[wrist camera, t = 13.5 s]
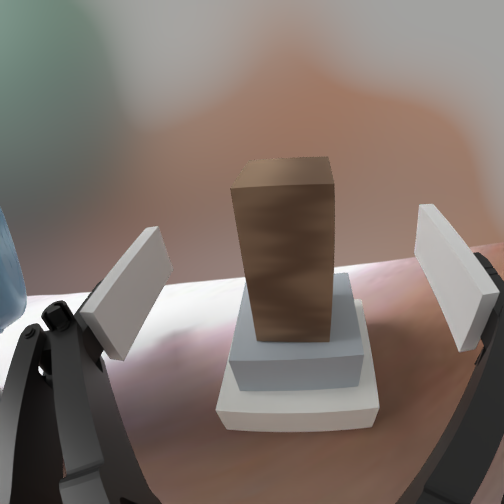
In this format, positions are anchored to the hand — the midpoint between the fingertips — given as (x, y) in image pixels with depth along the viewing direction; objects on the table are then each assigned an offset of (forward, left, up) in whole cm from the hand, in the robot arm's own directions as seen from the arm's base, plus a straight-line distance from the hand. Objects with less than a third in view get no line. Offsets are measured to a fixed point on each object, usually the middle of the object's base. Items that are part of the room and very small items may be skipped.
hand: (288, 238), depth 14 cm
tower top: (0, +4, -13) cm, 13 cm away
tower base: (0, +4, -17) cm, 17 cm away
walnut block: (0, +4, -9) cm, 9 cm away
